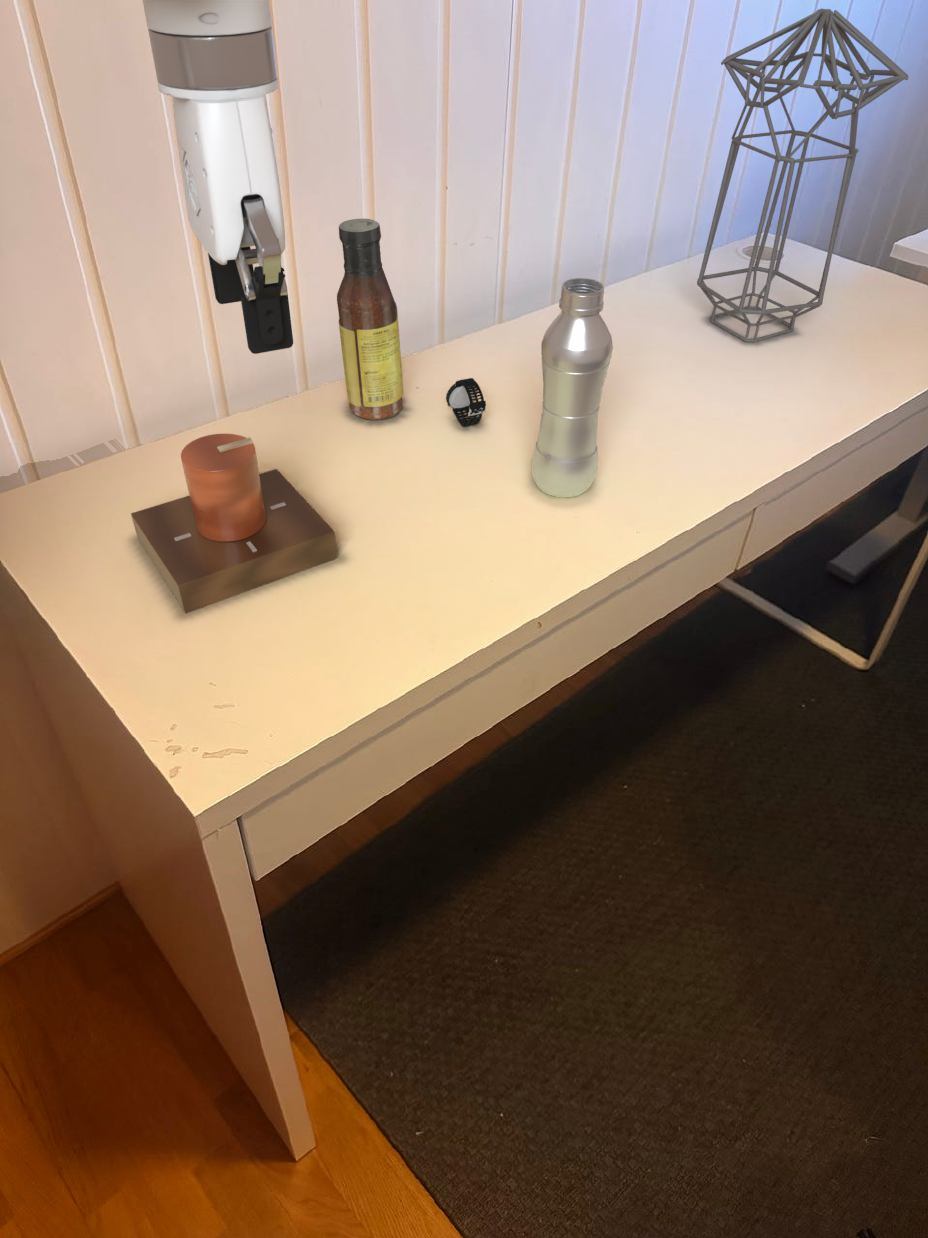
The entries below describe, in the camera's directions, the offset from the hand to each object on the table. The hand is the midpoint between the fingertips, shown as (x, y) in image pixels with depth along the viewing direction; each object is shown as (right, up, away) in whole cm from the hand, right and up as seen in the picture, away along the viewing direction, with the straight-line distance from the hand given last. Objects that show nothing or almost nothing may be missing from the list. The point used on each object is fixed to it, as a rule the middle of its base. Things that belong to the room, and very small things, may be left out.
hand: (253, 323), depth 68 cm
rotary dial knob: (-4, -14, +10) cm, 18 cm away
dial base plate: (-4, -16, +12) cm, 21 cm away
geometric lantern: (+54, +16, +51) cm, 76 cm away
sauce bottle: (+6, +1, +32) cm, 33 cm away
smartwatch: (+16, -1, +30) cm, 34 cm away
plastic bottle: (+26, -10, +21) cm, 34 cm away
